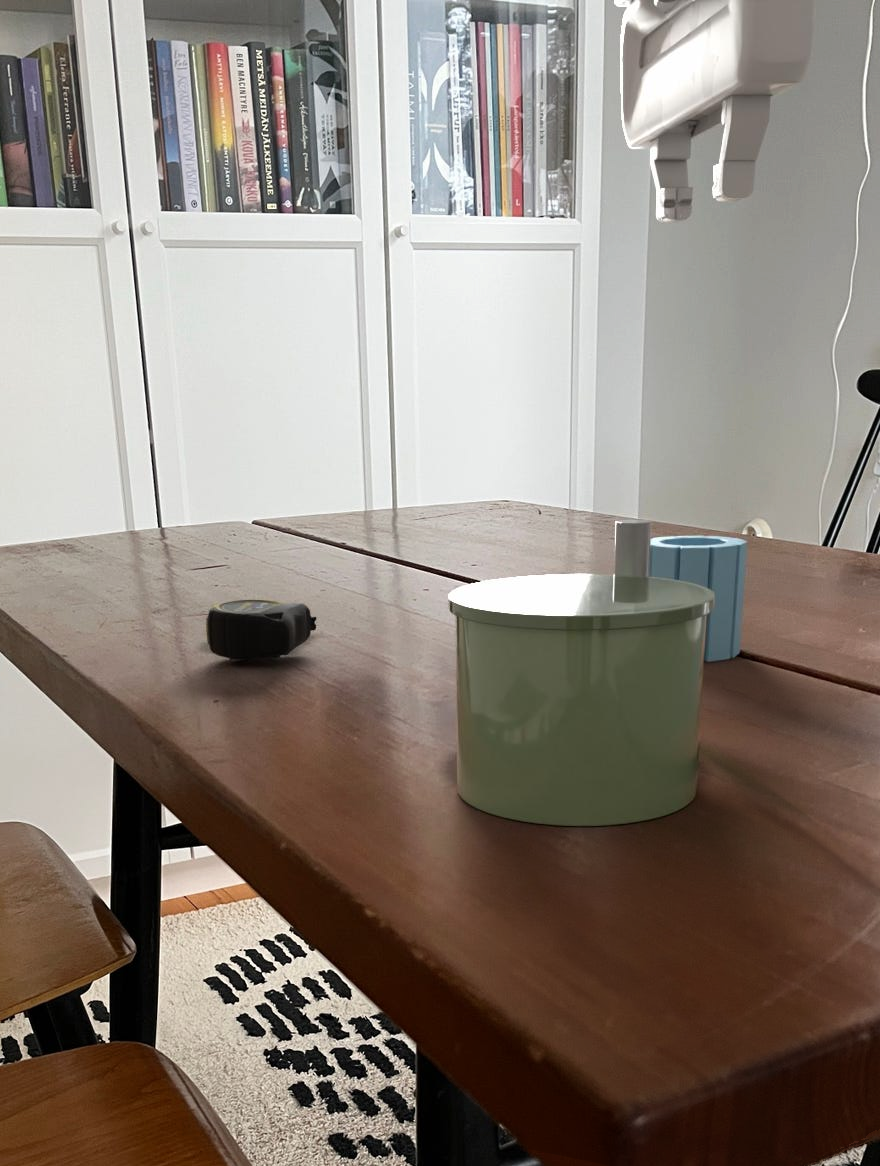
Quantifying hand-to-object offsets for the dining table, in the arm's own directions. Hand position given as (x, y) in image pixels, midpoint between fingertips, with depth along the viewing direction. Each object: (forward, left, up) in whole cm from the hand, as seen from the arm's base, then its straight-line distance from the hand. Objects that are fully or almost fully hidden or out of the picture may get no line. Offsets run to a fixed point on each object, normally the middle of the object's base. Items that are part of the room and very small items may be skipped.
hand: (701, 211), depth 73 cm
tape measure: (+26, -10, -27) cm, 39 cm away
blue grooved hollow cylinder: (-1, 0, -27) cm, 27 cm away
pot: (+11, +21, -27) cm, 36 cm away
